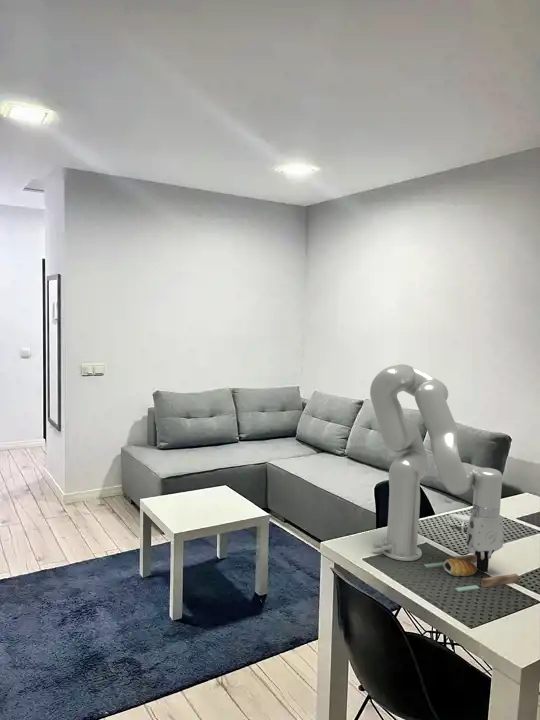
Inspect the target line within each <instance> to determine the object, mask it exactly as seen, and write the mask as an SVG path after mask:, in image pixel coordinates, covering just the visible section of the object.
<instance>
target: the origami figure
mask: <svg viewBox="0 0 540 720" xmlns="http://www.w3.org/2000/svg"><path fill="white" fill-rule="evenodd" d="M470 516H471V515H467V514H458V513H450V514H449V515H448V516H446V518H445V520H446V521H447V522H448V524H449V526H450V527H452V523H451V522H450V520H449V518H451V517H452V518H454V519H456V520H458V521H461V525H460V526H461V527H460V528H461V533H462V534H464V524H465V523H467V524H466V526H465V528H467V529H468V524H469V519H470Z"/></svg>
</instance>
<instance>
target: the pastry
mask: <svg viewBox="0 0 540 720" xmlns="http://www.w3.org/2000/svg"><path fill="white" fill-rule="evenodd" d="M443 562H444V563H443V566H442V568H443V569H444V571H445V572H447V573H448V574H450V575H451V576H454V577H461V576H462V577H466V576H467V577H468V576H472V575H475V574H476V573H477V571H478V569H477V568H476V565H475V563H474V562H473V563H471V562H467V561H465V560H460V559H457V558H455V559H452V558H451V557H449V559H445V561H443Z"/></svg>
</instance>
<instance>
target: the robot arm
mask: <svg viewBox="0 0 540 720" xmlns="http://www.w3.org/2000/svg"><path fill="white" fill-rule="evenodd" d="M369 391H370V392H369V395H370V400H371V404H372V407H373V412H374V413H375V417H376V418H375V419H376V423H377V424H378V429H379V431H380V434H381V439H382V441H383V445H384V447H385V448H386V449H387V450H388V451H390V452H392V453H396V454H397V456H398V457H396V458H395V459H394V460H393V461H392V463H391V464H390V466H389V470H388V486H389V487H388V489H389V493H388V495H389V496H388V513H387V515H388V516H387V533H386V536H383V540H381V541H373V542H372V547H373V549H379V548H380V550H381V553H382V554H383V555H385V556H386V557H387V558H389V559H393V560H397V561H402V562H412V561H416V560H419V559H420V558H422V554H423V551H422V550H421V548H420V547H418V540H419V538H418V537H419V523H420V521H419V520H420V507H421V489H420V485H421V484H420V483H421V480H422V479H423V477H425V475H426V474H427V473H428V471H429V467H430V463H429V458H428V454H427V451H426V449H425V444H424V441H423V438H422V435H421V432H420V429H419V427H418V426H417V425H416V423H415V422H414V421H413V420H411V419H409V418H405V415H404V412H403V411H404V410H403V408H402V405H401V403H400V401H399V399H398V394H399V393H401V392H405V393H407V394H409V395H410V396H413V397H414V399H415V404H416V405H417V409H418V410H419V413H420V415H421V418H422V421H423V423H424V426H425V428H426V431H427V433H428V435H429V439H430V440H429V441H430V446H431V452H432V456H433V460H434V463H435V466H436V469H437V472H438V475H439V477H440V480H441V482H442V484H443V486H444V487H445V489H446V490H447V491H448V492H449V493H452V494H453V495H464V494H466V493H467V492H468V491H469V490H470V489H473V499H472V507H470V510H469V511H470V515H469V516H470V519H469V522H468V523H469V524H468V523H467V524H468V528H467V530H466V545H467V548H466V549H467V550H466V551H467V553H469V554H470V555H472V554H475V556H477V562H476V565H475V566H476V569H477V571H479V572H481V573H482V574H483V573H488V572H489V562H490V561H489V560H491V558H492V555H493V554H494V552H497V551H499V550H501V549H502V548H503V546H504V523H503V517H502V514H501V513H500V512H501V499H502V489H503V487H502V486H503V474H502V472H501V471H500V470H498V469H495V468H491V467H481V466H477V465H474V464H472V463H468V462H462V460H461V459H462V458H461V457H460V454H459V453H460V452H459V448H458V447H459V446H458V426H457V424H456V422H455V419H454V417H453V414H452V412H451V409H450V406H449V405H448V402H447V400H448V397H449V390H448V388H447V386H446V385H445V383H443V382H442V381H441V380H439V379H437V378H435V377H432V376H431V375H429V374H427V373H425V372H423V371H421V370H419V369H417V368H415V367H413V366H411V365H408V364H404V363H403V364H396V365H390V366H388V367H386V368H384V369H382V370H381V371H380V372H379V373H378V374H376V376H375V377H374V378H373V380H372V381H371V385H370V390H369Z"/></svg>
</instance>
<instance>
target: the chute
mask: <svg viewBox="0 0 540 720" xmlns="http://www.w3.org/2000/svg"><path fill="white" fill-rule="evenodd" d="M450 558H452V559H455V558H457V559H460V560H465V561H467V562H473V563H477V556H475V554H467V555H459V556H458V555H456V556H451V557H450ZM519 578H520V576H519V575H518V574H517V573H513V574H512V573H511V574H505V575H498V576H490V577H482V578H481V582H480V585H481V587H483V588H488V587H494V586H502V585H509V584H515V583H519Z"/></svg>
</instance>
